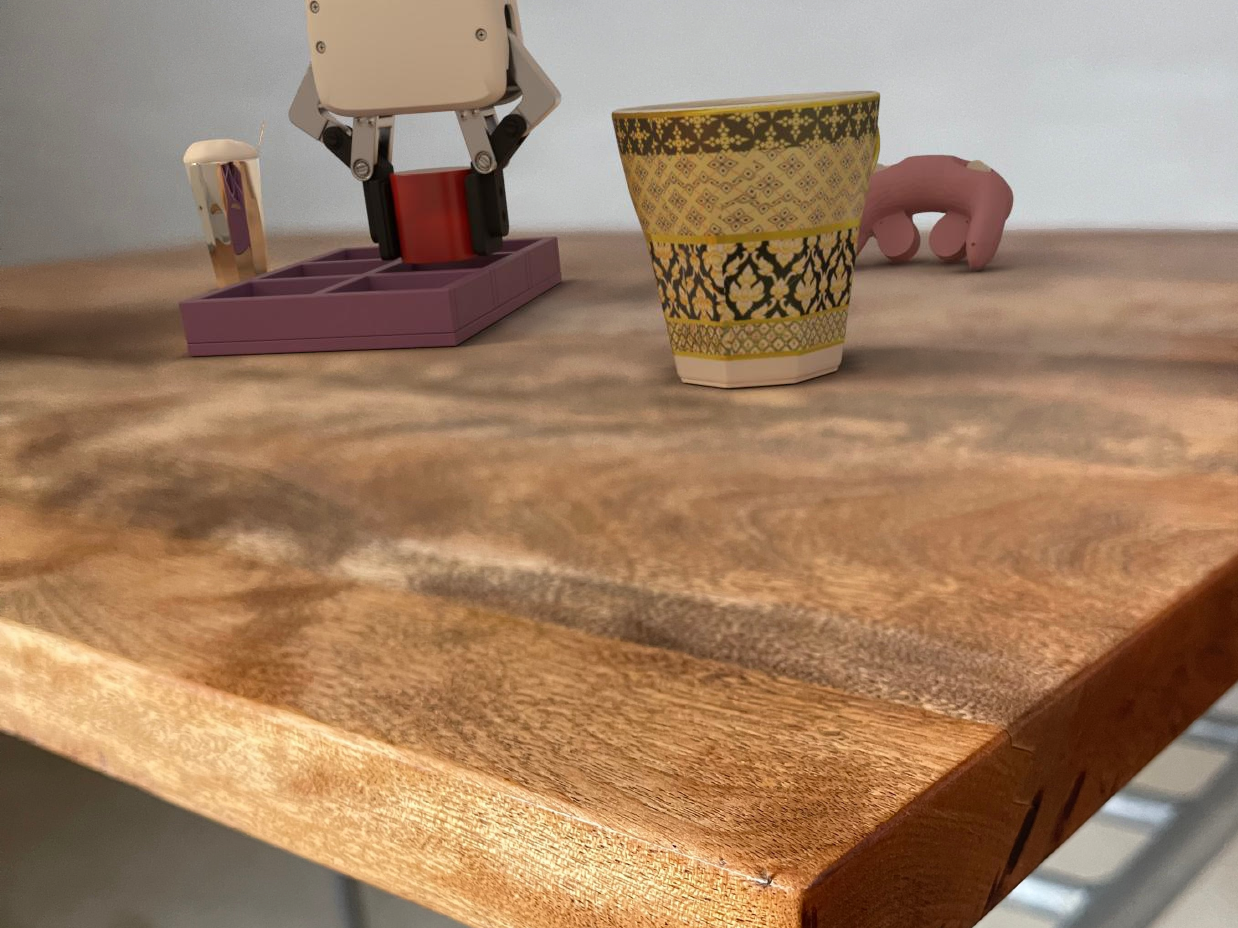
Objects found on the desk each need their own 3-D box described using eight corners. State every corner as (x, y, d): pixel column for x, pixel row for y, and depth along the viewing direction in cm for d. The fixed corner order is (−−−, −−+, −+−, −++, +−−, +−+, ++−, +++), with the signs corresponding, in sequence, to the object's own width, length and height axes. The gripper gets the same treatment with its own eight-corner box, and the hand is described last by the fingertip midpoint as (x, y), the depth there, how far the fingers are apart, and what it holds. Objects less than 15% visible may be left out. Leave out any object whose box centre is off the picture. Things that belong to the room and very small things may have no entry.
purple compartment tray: (456, 346, 67) (449, 289, 66) (188, 356, 69) (177, 302, 68) (562, 281, 85) (557, 236, 84) (346, 291, 88) (339, 247, 87)
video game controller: (1007, 290, 80) (1028, 167, 80) (982, 263, 76) (1005, 134, 76) (847, 288, 85) (867, 172, 85) (816, 262, 81) (836, 141, 81)
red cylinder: (389, 265, 74) (376, 176, 72) (418, 254, 78) (406, 169, 76) (470, 261, 73) (459, 171, 71) (495, 250, 77) (485, 164, 75)
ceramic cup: (770, 408, 50) (756, 105, 46) (582, 382, 57) (555, 114, 53) (976, 344, 59) (979, 81, 55) (791, 327, 65) (782, 92, 61)
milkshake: (300, 286, 92) (271, 119, 88) (215, 296, 90) (181, 126, 86) (286, 279, 95) (258, 119, 91) (204, 289, 94) (172, 126, 89)
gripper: (580, -148, 70) (613, 238, 77) (261, -115, 73) (322, 253, 80) (540, -168, 63) (580, 257, 71) (191, -132, 66) (264, 272, 74)
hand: (442, 251), depth 75 cm, fingers closed on red cylinder, 4 cm apart
